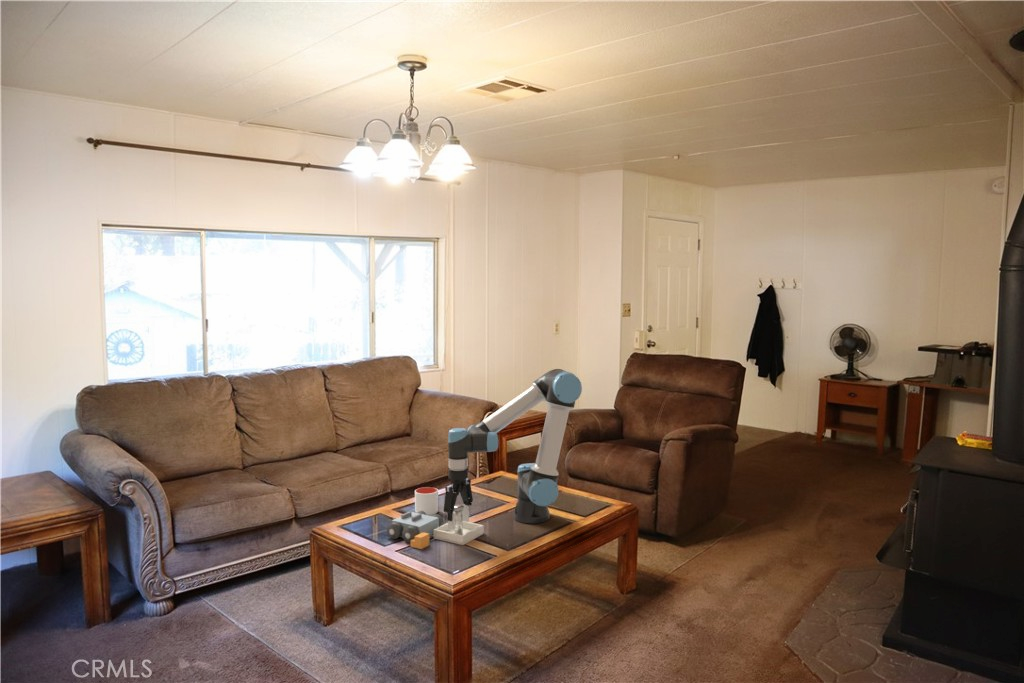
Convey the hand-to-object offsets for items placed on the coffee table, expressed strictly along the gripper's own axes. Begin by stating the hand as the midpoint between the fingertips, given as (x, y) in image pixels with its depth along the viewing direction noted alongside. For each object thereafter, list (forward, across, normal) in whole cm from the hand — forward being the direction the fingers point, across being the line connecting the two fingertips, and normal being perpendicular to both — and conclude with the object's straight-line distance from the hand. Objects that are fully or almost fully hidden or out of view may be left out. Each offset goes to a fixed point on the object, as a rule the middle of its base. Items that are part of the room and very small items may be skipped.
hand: (458, 524), depth 265 cm
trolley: (+4, +7, -16) cm, 18 cm away
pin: (+4, 0, 0) cm, 4 cm away
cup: (+5, -15, -28) cm, 32 cm away
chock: (+5, +16, -7) cm, 18 cm away
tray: (+4, 0, 0) cm, 4 cm away
